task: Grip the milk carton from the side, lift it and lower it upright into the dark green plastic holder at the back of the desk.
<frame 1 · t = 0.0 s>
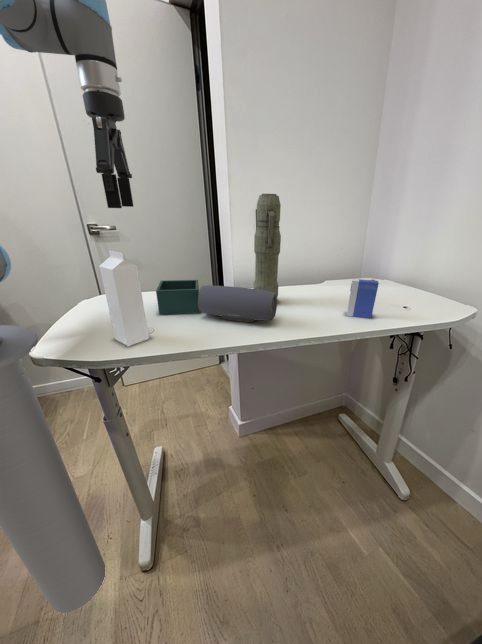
hand: (122, 207, 71), 31 cm above the table, tool pointing down, fingers open, 13 cm apart
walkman: (358, 316, 96), on the table
holder: (180, 307, 99), on the table
milk: (132, 340, 76), on the table
thermos: (265, 302, 107), on the table
bluetooth speaker: (238, 319, 91), on the table
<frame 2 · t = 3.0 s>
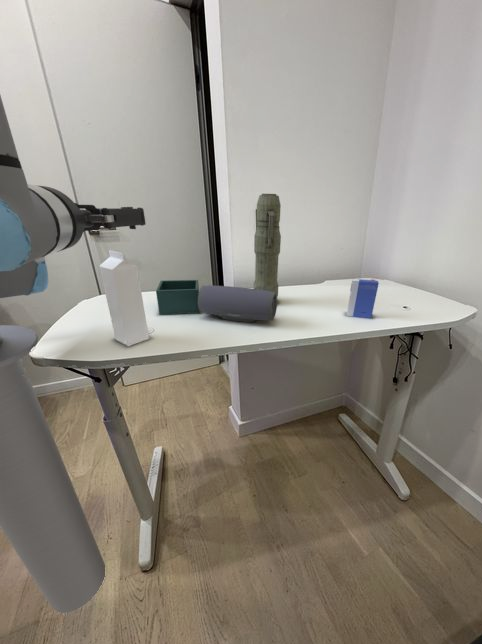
hand: (92, 214, 53), 30 cm above the table, tool horizontal, fingers open, 13 cm apart
nothing on the table moved.
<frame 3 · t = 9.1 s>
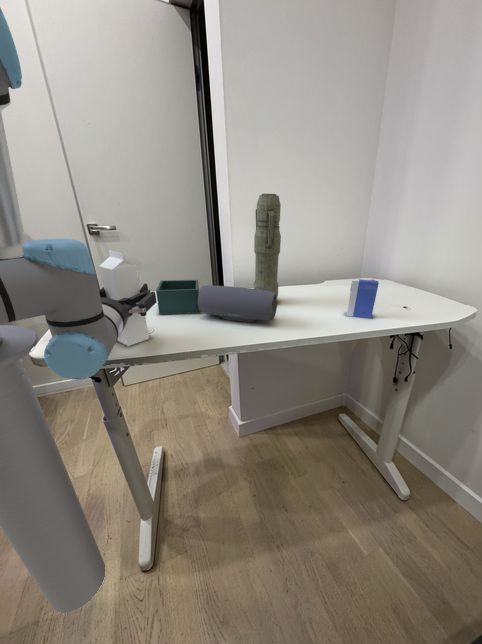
hand: (127, 289, 74), 12 cm above the table, tool horizontal, fingers closed on milk, 8 cm apart
milk: (132, 340, 76), on the table, touching gripper
everything else where it was.
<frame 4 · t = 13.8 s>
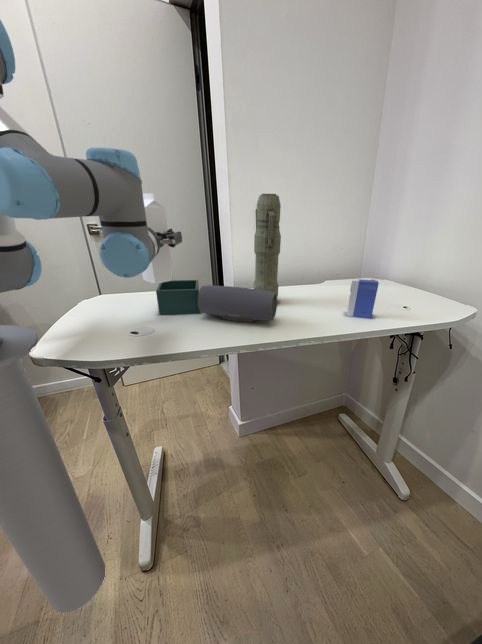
hand: (154, 233, 82), 24 cm above the table, tool horizontal, fingers closed on milk, 8 cm apart
milk: (158, 281, 83), point 12 cm above the table, touching gripper
everything else where it was.
when the fingers open (13 cm above the table, at t = 18.7 s): milk stays where it is, resting on holder.
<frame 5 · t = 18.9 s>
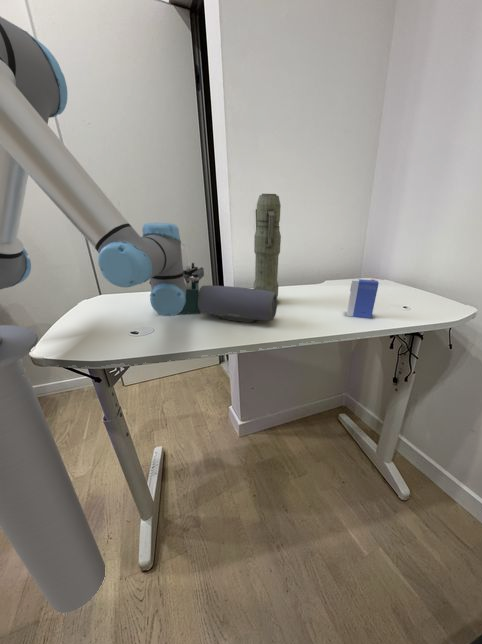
hand: (177, 267, 97), 13 cm above the table, tool horizontal, fingers open, 9 cm apart
milk: (180, 305, 98), point 1 cm above the table, touching holder
everything else where it was.
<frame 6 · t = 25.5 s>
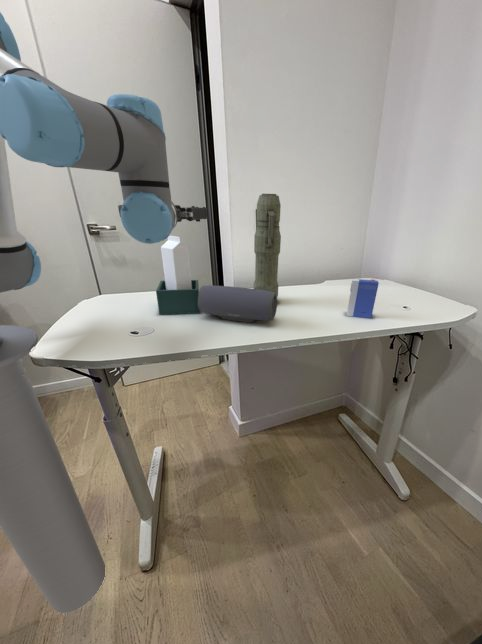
hand: (167, 211, 76), 30 cm above the table, tool horizontal, fingers open, 13 cm apart
nothing on the table moved.
at the end: milk inside the target area in the holder (0.1 cm from its centre), point 0.6 cm above the holder's base; milk tilted 0°; the gripper is holding nothing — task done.
